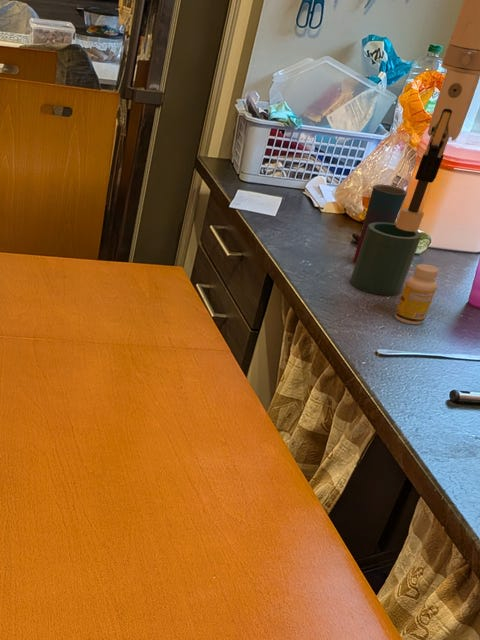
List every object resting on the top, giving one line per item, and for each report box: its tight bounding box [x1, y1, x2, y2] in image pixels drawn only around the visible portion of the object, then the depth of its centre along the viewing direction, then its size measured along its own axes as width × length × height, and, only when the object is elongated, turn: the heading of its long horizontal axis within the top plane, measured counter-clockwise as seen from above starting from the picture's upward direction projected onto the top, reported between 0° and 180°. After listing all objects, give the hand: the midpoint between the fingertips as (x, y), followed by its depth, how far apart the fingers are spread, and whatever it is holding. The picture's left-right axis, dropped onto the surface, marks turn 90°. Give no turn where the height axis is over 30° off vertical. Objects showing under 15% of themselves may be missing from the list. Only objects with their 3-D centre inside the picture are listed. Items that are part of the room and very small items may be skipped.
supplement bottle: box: [394, 263, 440, 326], centre depth 174 cm, size 5×5×10 cm
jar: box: [349, 222, 422, 296], centre depth 187 cm, size 10×10×11 cm
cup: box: [353, 183, 408, 264], centre depth 197 cm, size 7×7×15 cm
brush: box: [395, 180, 430, 232], centre depth 167 cm, size 4×4×14 cm
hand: (425, 178), depth 166 cm, fingers closed on brush
